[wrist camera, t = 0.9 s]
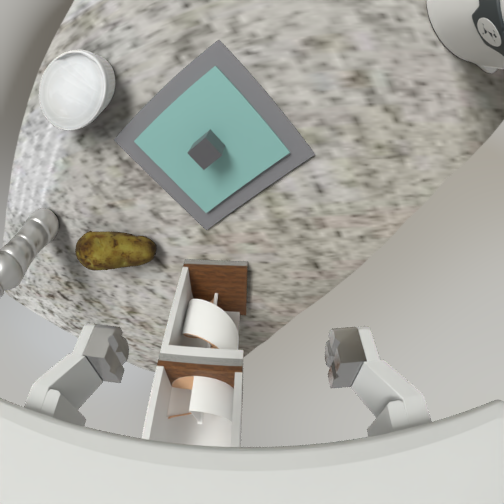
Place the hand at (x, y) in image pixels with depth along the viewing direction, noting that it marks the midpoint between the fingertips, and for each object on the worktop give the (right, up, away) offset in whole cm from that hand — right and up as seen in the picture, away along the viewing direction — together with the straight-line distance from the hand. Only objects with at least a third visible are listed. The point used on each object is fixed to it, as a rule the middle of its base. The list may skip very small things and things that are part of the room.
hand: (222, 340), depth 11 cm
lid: (-4, +18, +27) cm, 33 cm away
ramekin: (-22, +27, +22) cm, 41 cm away
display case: (-5, -3, +44) cm, 44 cm away
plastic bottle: (-36, +10, +35) cm, 52 cm away
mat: (-4, +18, +28) cm, 33 cm away
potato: (-21, +6, +38) cm, 44 cm away
